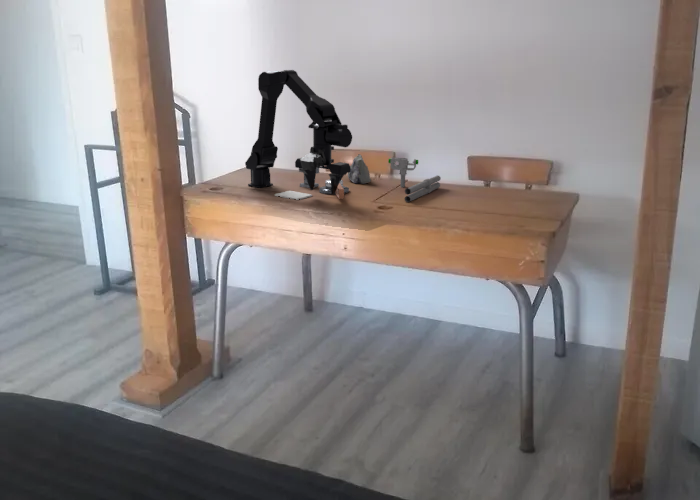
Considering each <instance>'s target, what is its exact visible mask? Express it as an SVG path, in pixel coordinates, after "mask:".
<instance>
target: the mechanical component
mask: <svg viewBox="0 0 700 500" xmlns="http://www.w3.org/2000/svg"><path fill="white" fill-rule="evenodd" d="M396 162H397V163H398V164H396ZM388 164H390V168H391V170H394V171H395V170H397V171H399V174H398V175H400V187H401V188H405V187H406V175H407V171H414V170H415V169H416V168H417V165H419V159H416V158H414V159H413V161H412V163H411V162H410V160H409V159H408V158H407V157H391V158H388ZM408 166H413V167H408Z"/></svg>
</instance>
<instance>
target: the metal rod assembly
mask: <svg viewBox="0 0 700 500" xmlns="http://www.w3.org/2000/svg"><path fill="white" fill-rule="evenodd" d="M440 182H441V176H440V175H435V176H433V177H430V178H426V179H424V180H422V181H420V182H419V183H416V184H414V185H411V186H409V187H408V188H407V187H406V188H405V190H404V193H405V195H406V196H405V197H404V202H406V203H410V202H411V201H414V200H416V199H418V198H420V197H422V196H425V195H429V194H430V193H431V192H433V191H435V190H438V189H439V188H441V183H440ZM428 193H429V194H428Z"/></svg>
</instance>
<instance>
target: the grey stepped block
mask: <svg viewBox="0 0 700 500" xmlns="http://www.w3.org/2000/svg"><path fill="white" fill-rule="evenodd" d="M299 169H300V168H298V172H299V173H303V172H302V171H300V170H299ZM316 174H320V168H317V167H316ZM319 186H320V183H318V182H315V184H314V188H317V187H319ZM299 187H302V188H305V189H306V188H307V189H310V187H309V184H308V181H307V179H306V176H305V174H304V173H303V182H302V183H299Z"/></svg>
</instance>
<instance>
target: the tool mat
mask: <svg viewBox="0 0 700 500" xmlns="http://www.w3.org/2000/svg"><path fill="white" fill-rule="evenodd" d="M274 196H275V197H278V196H280V197H279V198H283V199H289V198H290V199H289V200H294V199H296V200H295V201H299V199H300V200H303V199H307V198H311V197H313V194H311V193H305V192H299V191H293V190H286V191H282V192H278V193H275V194H274Z"/></svg>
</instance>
